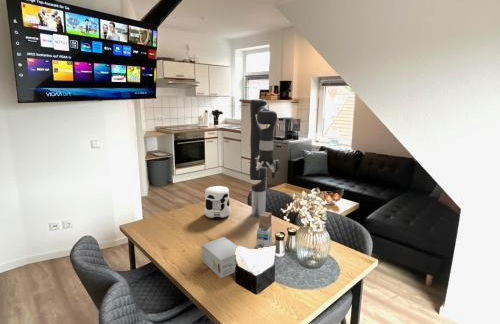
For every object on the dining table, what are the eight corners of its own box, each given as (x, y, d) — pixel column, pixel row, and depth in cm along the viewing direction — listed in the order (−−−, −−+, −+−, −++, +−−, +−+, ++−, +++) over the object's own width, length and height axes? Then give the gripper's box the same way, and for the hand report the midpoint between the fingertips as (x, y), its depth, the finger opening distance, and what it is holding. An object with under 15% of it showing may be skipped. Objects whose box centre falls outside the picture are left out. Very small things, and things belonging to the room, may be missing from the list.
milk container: (220, 208, 205) (219, 184, 201) (236, 216, 192) (235, 190, 188) (199, 215, 193) (198, 189, 189) (214, 223, 181) (213, 196, 177)
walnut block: (262, 223, 157) (262, 211, 155) (271, 225, 155) (271, 213, 153) (258, 227, 152) (259, 214, 151) (267, 229, 150) (268, 216, 149)
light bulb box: (269, 250, 150) (269, 231, 148) (256, 249, 152) (256, 230, 149) (271, 240, 160) (272, 222, 158) (259, 239, 162) (260, 221, 159)
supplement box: (201, 261, 140) (201, 244, 138) (224, 252, 148) (224, 236, 146) (220, 278, 127) (220, 259, 125) (244, 268, 135) (244, 250, 133)
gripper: (281, 148, 156) (280, 177, 160) (256, 146, 162) (256, 174, 166) (276, 150, 150) (276, 181, 153) (251, 148, 155) (251, 177, 159)
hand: (265, 177), depth 159 cm, fingers open, 8 cm apart
